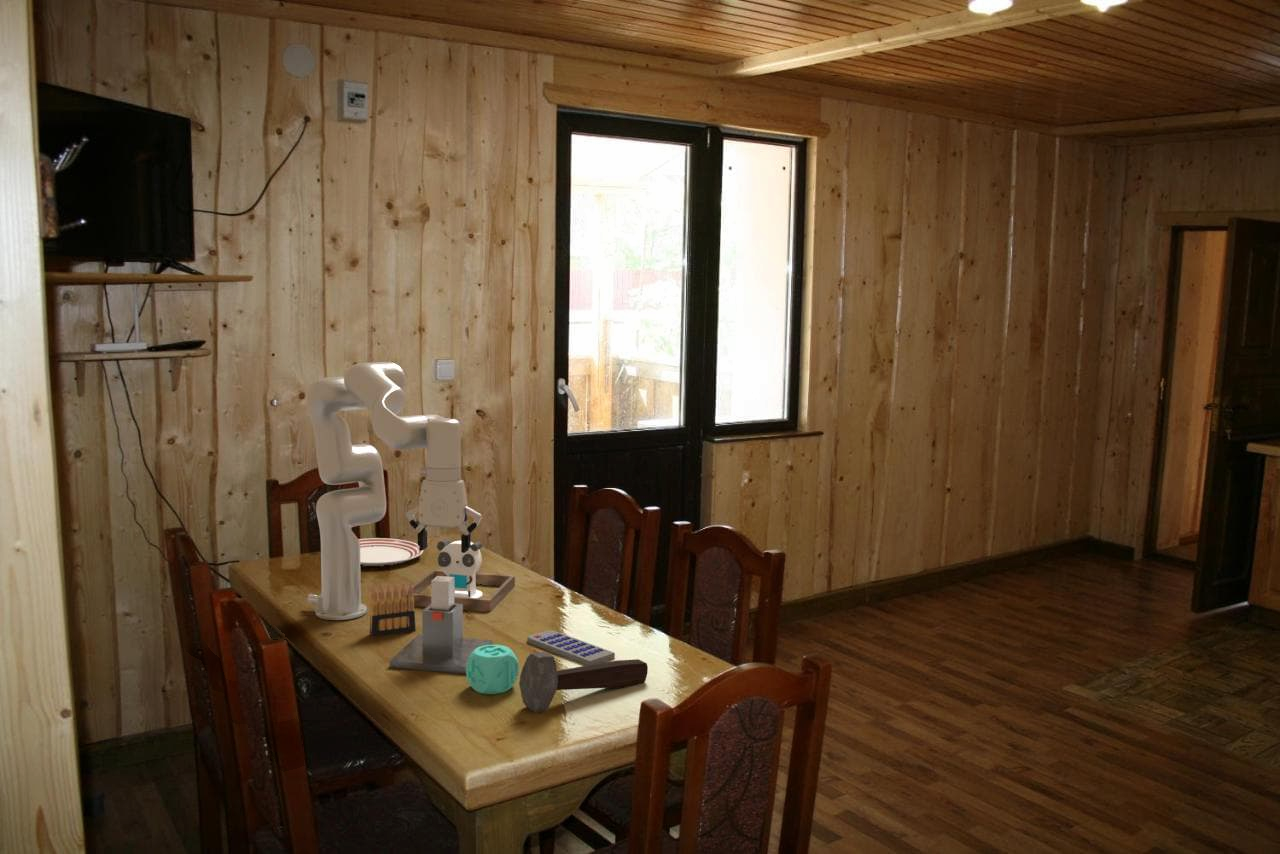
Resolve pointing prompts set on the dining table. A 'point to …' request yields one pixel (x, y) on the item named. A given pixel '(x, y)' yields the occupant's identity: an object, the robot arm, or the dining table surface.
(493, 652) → the decorative dice
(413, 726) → the dining table surface
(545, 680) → the hammer
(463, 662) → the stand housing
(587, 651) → the remote control
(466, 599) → the frame
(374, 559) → the dinner plate
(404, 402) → the robot arm
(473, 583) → the panda figurine
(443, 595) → the column
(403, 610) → the ammunition clip
